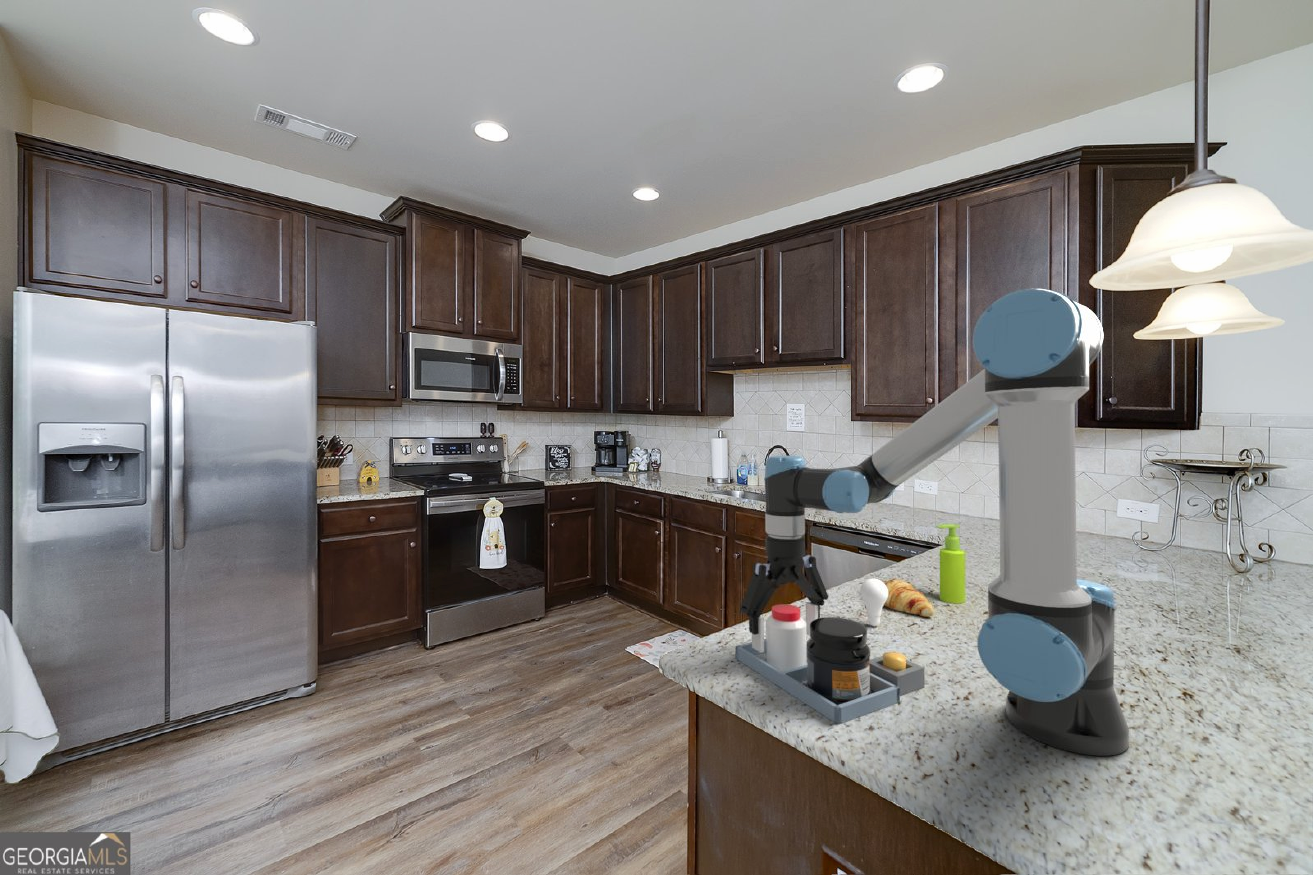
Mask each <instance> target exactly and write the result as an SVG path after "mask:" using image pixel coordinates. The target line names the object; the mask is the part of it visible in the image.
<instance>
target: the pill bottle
mask: <svg viewBox="0 0 1313 875" xmlns="http://www.w3.org/2000/svg"><path fill="white" fill-rule="evenodd" d="M807 636H808V635H807V625H806V619H804V618H803V617H802V616H801V608H800V607H798V606H796V605H793V604H786V603H784V604H783V603H779V604H774V605H773V606H772V607H771V614H770V615H769V616H768V617H767V618H766V620H765V639H766V653H765V654H766V656H765V657H766V658H765V660H766V661H765V662H767V663H768V664H770V665H772V666H773V667H775V668H776V669H778V670H780V671H781V672H783V671H786V670H790V669H793V668H797V667H800V666H804V665H807V647H806V645H807V641H808V639H807Z"/></svg>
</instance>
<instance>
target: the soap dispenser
mask: <svg viewBox="0 0 1313 875" xmlns="http://www.w3.org/2000/svg"><path fill="white" fill-rule="evenodd" d="M935 527H936V528H938V529H941V530H943V529H948V535H946V536H945V537H944V538H945V539H944V544H945V545H944V548H943V547H942V548H940V549H939V600H940V601H942V602H944V603H949V604H957V605H959V604H960V605H961V604H964V603H966V551H964V550H963V549H960V548H961V544H960V543H961V541H960V540H961V538H960V537H959V536H957V529H960V527H961V526H960V525H958V524H955V523H945V524H939V525H936V526H935Z"/></svg>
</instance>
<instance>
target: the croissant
mask: <svg viewBox="0 0 1313 875" xmlns="http://www.w3.org/2000/svg"><path fill="white" fill-rule="evenodd" d="M882 582H883V583H884V584H885V585H886V587H887V589H888V598H887V600H886V602H885V603H884V605H883V607H886V608H888V609H891V610H894V611H897V612H902V613H907V614H911V615H912V614H913V615H919V616H921V617H932V616H934V615H935V610H934V609H935V608H934V607H933V605H932V603H931V602H930V601H928V598H927V597H926V596H925V595H924V593H923V592H921V591H918V590H916V589H915V587H913V585H912V584H910V583H909V582H906V581H904V580H901V579H897V578H892V579H889V580H888V581H887V580H886V581H882Z"/></svg>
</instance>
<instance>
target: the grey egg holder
mask: <svg viewBox="0 0 1313 875" xmlns="http://www.w3.org/2000/svg"><path fill="white" fill-rule="evenodd" d="M870 673H872V674H874V675H876V676H878V677H880V678H882V679H884V680H886V681H888V682H890V683H892V684H894V685H896V686H898V687H900V697H901V696H904V695H907V694H909V693H912V692H914V691H918V690H920V689H924V688H925V667H924V666H921V665H919V664H916V663H914V662H912V661H910V660H908V659H906V669H904V670H901V671H898V672H895V671H893V670H891V669H889V668H887V667H885V666H883V655H880V656H877V657H873V658H871V659H870Z"/></svg>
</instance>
